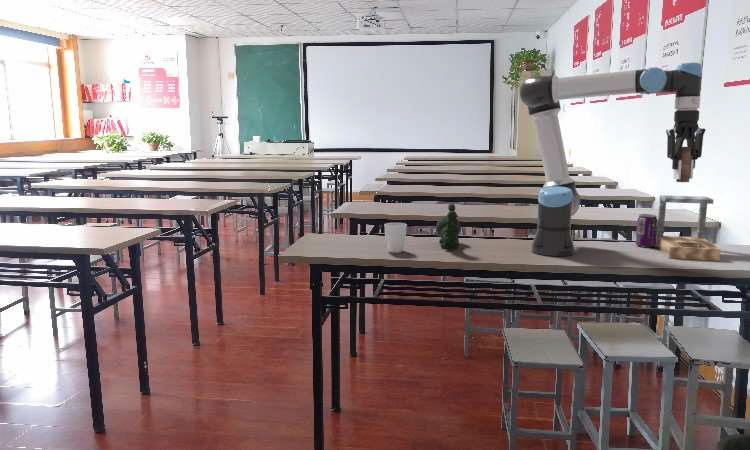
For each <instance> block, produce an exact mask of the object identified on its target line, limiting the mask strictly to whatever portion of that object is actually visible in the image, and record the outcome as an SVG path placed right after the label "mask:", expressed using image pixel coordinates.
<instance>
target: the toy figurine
mask: <svg viewBox="0 0 750 450" xmlns="http://www.w3.org/2000/svg"><path fill="white" fill-rule="evenodd" d="M447 208H448V213H447V215H443V216H442V217H440V218H439V220H437V223H436V226H435V227H436V232H437V234H438V235H439V237H440V239H439V241H438V242H439V244H440V248H442V249H447V248H449V249H450V248H451V249H452V248H454V249H458V248H459V247H460V245H459V243H460V240H459V235H460V233H461V230H462V228H461V227H462V226H461V222H460V221H459V219H458V217H459V216H458V213H457V212H456V205H455V204H454V203H453V202H450V203H448V206H447Z"/></svg>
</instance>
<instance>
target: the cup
mask: <svg viewBox="0 0 750 450" xmlns="http://www.w3.org/2000/svg"><path fill="white" fill-rule="evenodd" d="M407 225H408V224H407V223H405V222H387V223H384V237H385V243H386V247H387V250H388V253H394V254H395V253H396V254H399V253H402V252H403V250H404V247H405V244H406V243H405V242H406V237H407V227H408V226H407Z"/></svg>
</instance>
